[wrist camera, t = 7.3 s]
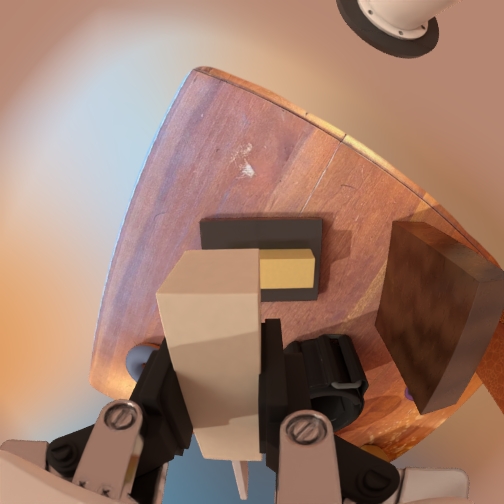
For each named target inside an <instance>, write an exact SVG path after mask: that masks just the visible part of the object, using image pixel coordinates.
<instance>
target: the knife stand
mask: <svg viewBox="0 0 504 504" xmlns="http://www.w3.org/2000/svg"><path fill="white" fill-rule="evenodd" d="M503 309H504V271H503V270H502V269H500V268H499V267H497V266H496V265H494V264H493V263H491V262H490V261H488V260H487V259H485V258H484V257H482V256H481V255H479V254H478V253H476V252H474V251H473V250H471V249H470V248H468V247H466V246H465V245H463V244H462V243H460V242H458V241H457V240H455V239H453V238H452V237H450V236H448V235H446V234H445V233H443V232H441V231H439V230H438V229H436V228H434V227H432V226H430V225H429V224H427V223H425V222H398V221H393V223H392V232H391V240H390V248H389V255H388V261H387V268H386V274H385V279H384V285H383V290H382V295H381V300H380V305H379V310H378V314H377V319H376V323H375V327H376V328H377V330H378V332H379V334H380V336H381V337H382V339H383V341H384V343H385V345H386V347H387V349H388V350H389V352H390V354H391V356H392V358H393V360H394V362H395V364H396V366H397V368H398V370H399V372H400V374H401V376H402V378H403V380H404V382H405V384H406V386H407V388H408V390H409V392H410V394H411V396H412V398H413V400H414V402H415V404H416V406H417V409H418V411H419V413H420V415H423V414H427V413H430V412H433V411H436V410H439V409H442V408H445V407H448V406H451V405H454V404H456V403H457V401H458V400H459V398H460V397H461V395H462V393H463V392H464V390H465V388H466V387H467V385H468V383H469V382H470V380H471V378H472V376H473V375H474V373H475V371H476V369H477V367H478V365H479V363H480V361H481V360H482V358H483V356H484V354H485V351H486V349H487V347H488V345H489V343H490V341H491V339H492V336H493V334H494V332H495V329H496V327H497V325H498V322H499V320H500V317H501V315H502V312H503Z"/></svg>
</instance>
